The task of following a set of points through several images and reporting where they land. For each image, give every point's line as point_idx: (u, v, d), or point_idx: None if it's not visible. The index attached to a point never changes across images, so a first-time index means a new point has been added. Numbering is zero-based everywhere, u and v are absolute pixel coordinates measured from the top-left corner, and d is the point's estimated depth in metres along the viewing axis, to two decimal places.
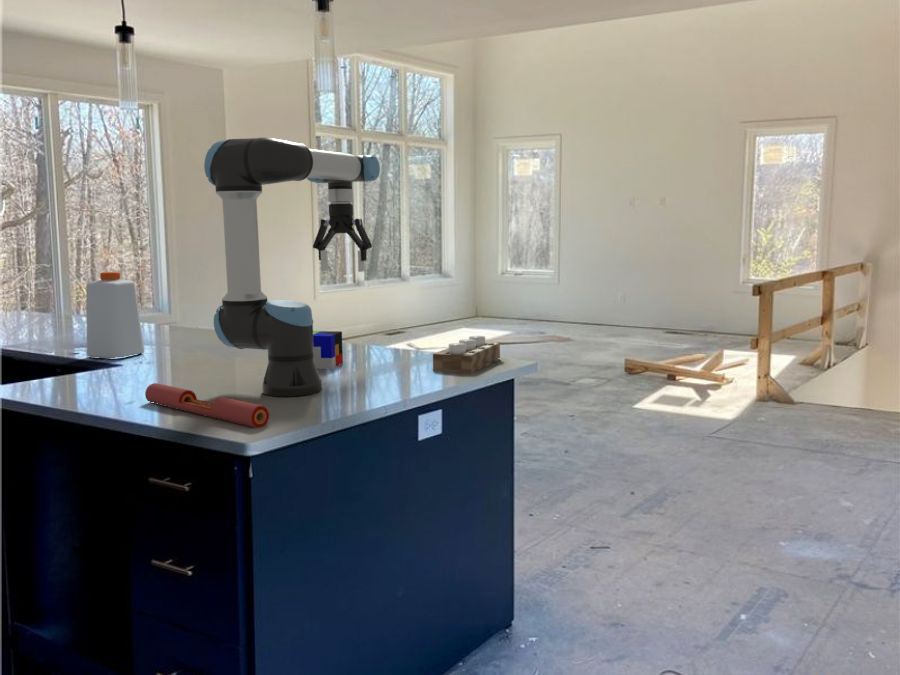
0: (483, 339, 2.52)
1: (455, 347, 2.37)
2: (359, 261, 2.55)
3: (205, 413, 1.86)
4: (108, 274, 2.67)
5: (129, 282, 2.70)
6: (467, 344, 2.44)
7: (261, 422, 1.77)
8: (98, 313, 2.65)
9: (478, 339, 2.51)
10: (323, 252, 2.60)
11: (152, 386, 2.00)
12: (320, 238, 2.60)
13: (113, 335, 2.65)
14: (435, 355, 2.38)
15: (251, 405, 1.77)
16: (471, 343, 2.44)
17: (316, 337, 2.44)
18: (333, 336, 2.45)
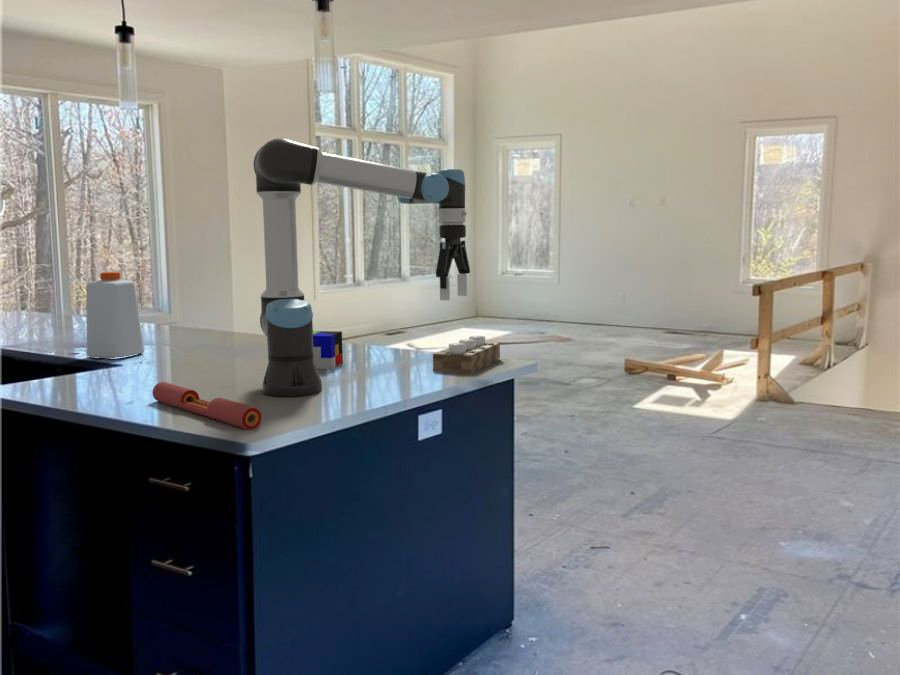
0: (483, 339, 2.52)
1: (455, 347, 2.37)
2: (440, 288, 2.31)
3: (203, 413, 1.85)
4: (108, 274, 2.67)
5: (129, 282, 2.70)
6: (467, 344, 2.44)
7: (253, 424, 1.75)
8: (98, 313, 2.65)
9: (478, 339, 2.51)
10: (459, 275, 2.43)
11: (159, 385, 2.02)
12: None
13: (113, 335, 2.65)
14: (435, 355, 2.38)
15: (243, 406, 1.75)
16: (471, 343, 2.44)
17: (316, 337, 2.44)
18: (333, 336, 2.45)
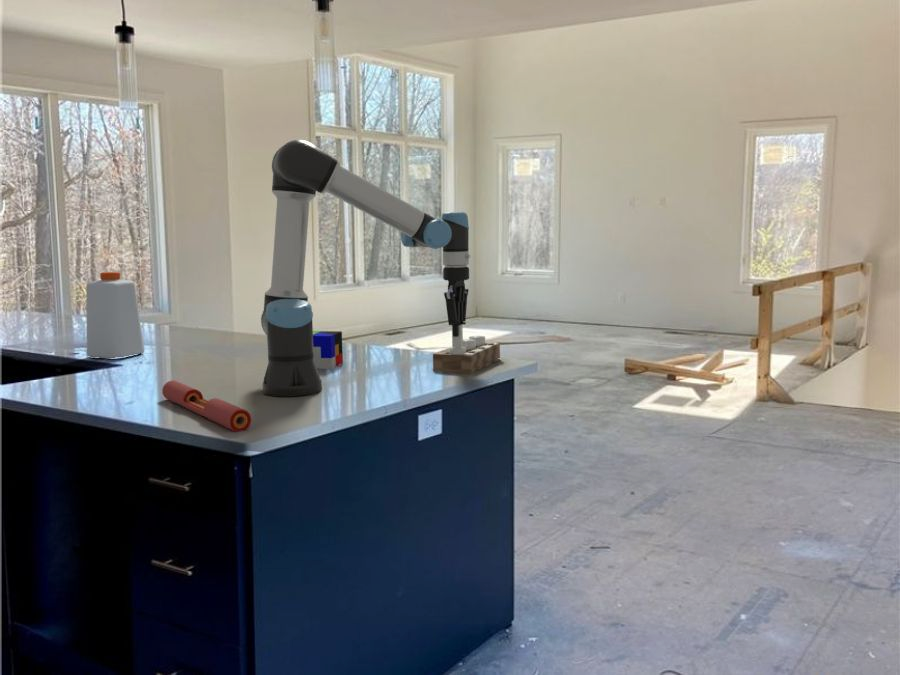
0: (483, 339, 2.52)
1: (455, 351, 2.37)
2: (452, 336, 2.39)
3: (200, 413, 1.85)
4: (108, 274, 2.67)
5: (129, 282, 2.70)
6: (467, 344, 2.44)
7: (241, 426, 1.73)
8: (98, 313, 2.65)
9: (478, 339, 2.51)
10: None
11: (168, 383, 2.03)
12: None
13: (113, 335, 2.65)
14: (435, 355, 2.38)
15: (233, 408, 1.74)
16: (471, 343, 2.44)
17: (316, 337, 2.44)
18: (333, 336, 2.45)
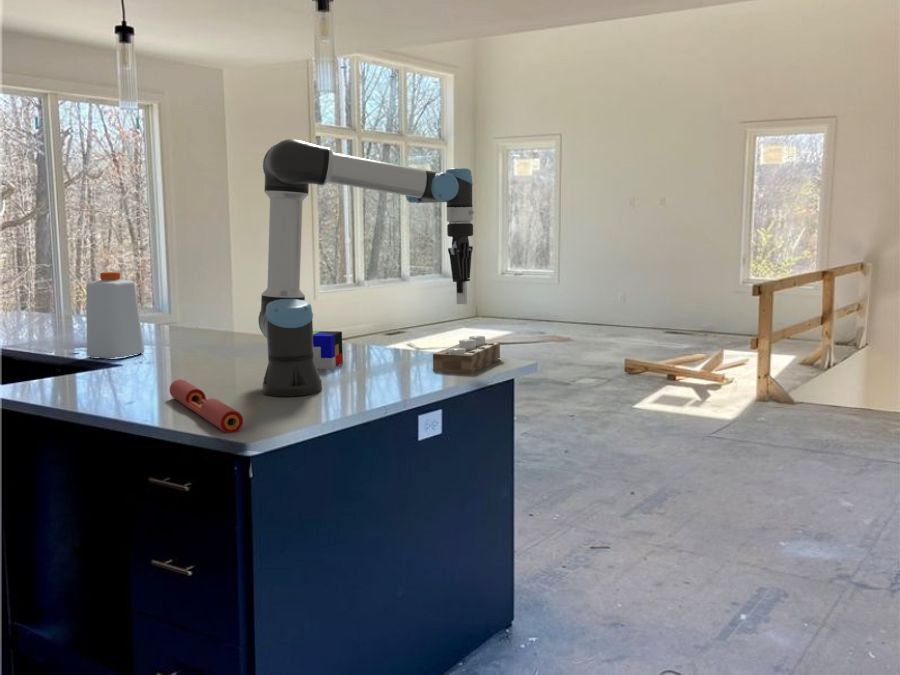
0: (483, 339, 2.52)
1: (455, 352, 2.37)
2: (457, 293, 2.40)
3: (198, 413, 1.85)
4: (108, 274, 2.67)
5: (129, 282, 2.70)
6: (467, 344, 2.44)
7: (233, 427, 1.72)
8: (98, 313, 2.65)
9: (478, 339, 2.51)
10: None
11: (175, 382, 2.05)
12: None
13: (113, 335, 2.65)
14: (435, 355, 2.38)
15: (225, 409, 1.73)
16: (471, 343, 2.44)
17: (316, 337, 2.44)
18: (333, 336, 2.45)
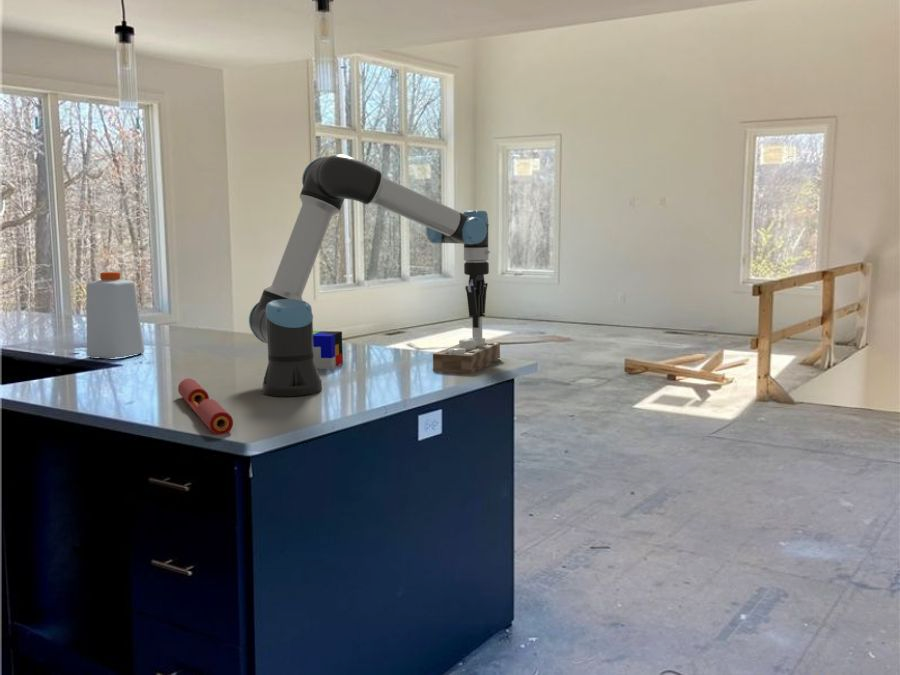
0: (483, 341, 2.52)
1: (455, 352, 2.37)
2: None
3: (196, 413, 1.85)
4: (108, 274, 2.67)
5: (129, 282, 2.70)
6: (467, 344, 2.44)
7: (222, 429, 1.71)
8: (98, 313, 2.65)
9: (478, 341, 2.51)
10: None
11: (183, 381, 2.06)
12: None
13: (113, 335, 2.65)
14: (435, 355, 2.38)
15: (215, 410, 1.72)
16: (471, 343, 2.44)
17: (316, 337, 2.44)
18: (333, 336, 2.45)
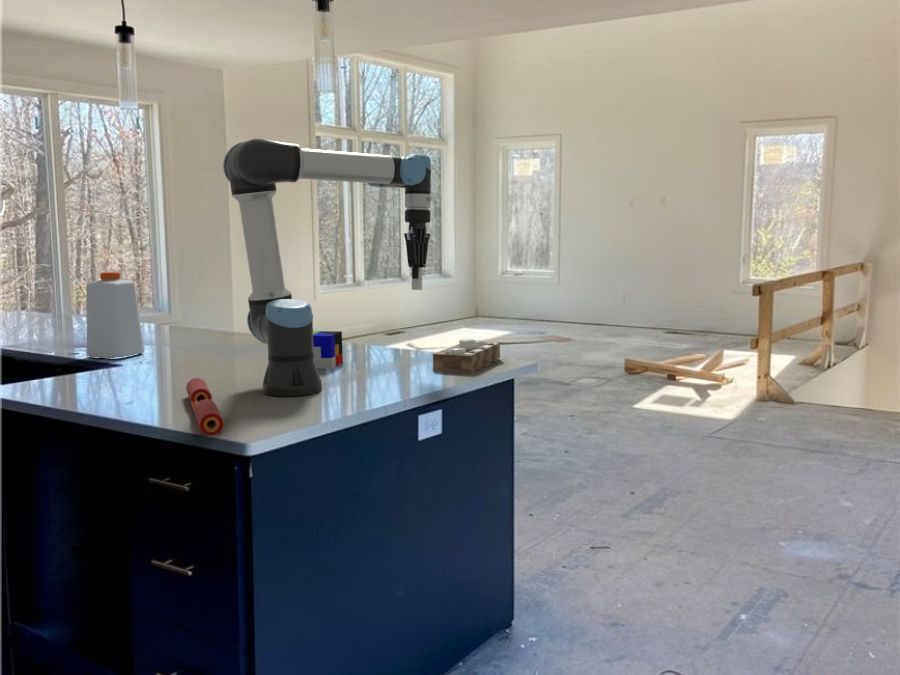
0: (483, 344, 2.52)
1: (455, 352, 2.37)
2: (412, 278, 2.42)
3: None
4: (108, 274, 2.67)
5: (129, 282, 2.70)
6: (467, 344, 2.44)
7: (213, 430, 1.70)
8: (98, 313, 2.65)
9: (478, 344, 2.51)
10: None
11: (191, 381, 2.07)
12: None
13: (113, 335, 2.65)
14: (435, 355, 2.38)
15: (206, 411, 1.71)
16: (471, 343, 2.44)
17: (316, 337, 2.44)
18: (333, 336, 2.45)
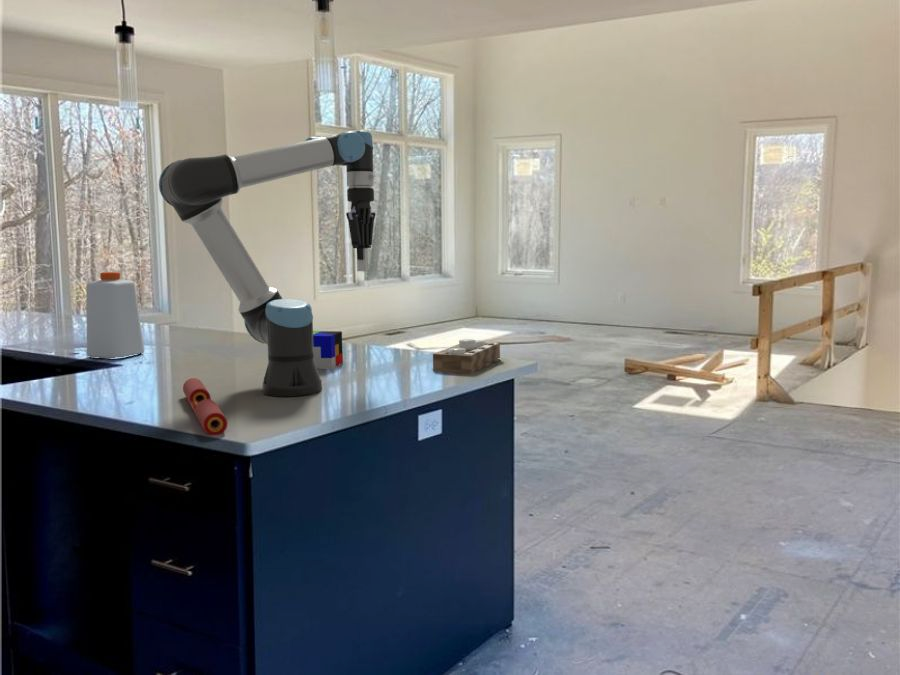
0: (483, 344, 2.52)
1: (455, 352, 2.37)
2: None
3: None
4: (108, 274, 2.67)
5: (129, 282, 2.70)
6: (467, 344, 2.44)
7: (216, 430, 1.71)
8: (98, 313, 2.65)
9: (478, 344, 2.51)
10: None
11: (187, 381, 2.06)
12: None
13: (113, 335, 2.65)
14: (435, 355, 2.38)
15: (210, 411, 1.72)
16: (471, 343, 2.44)
17: (316, 337, 2.44)
18: (333, 336, 2.45)
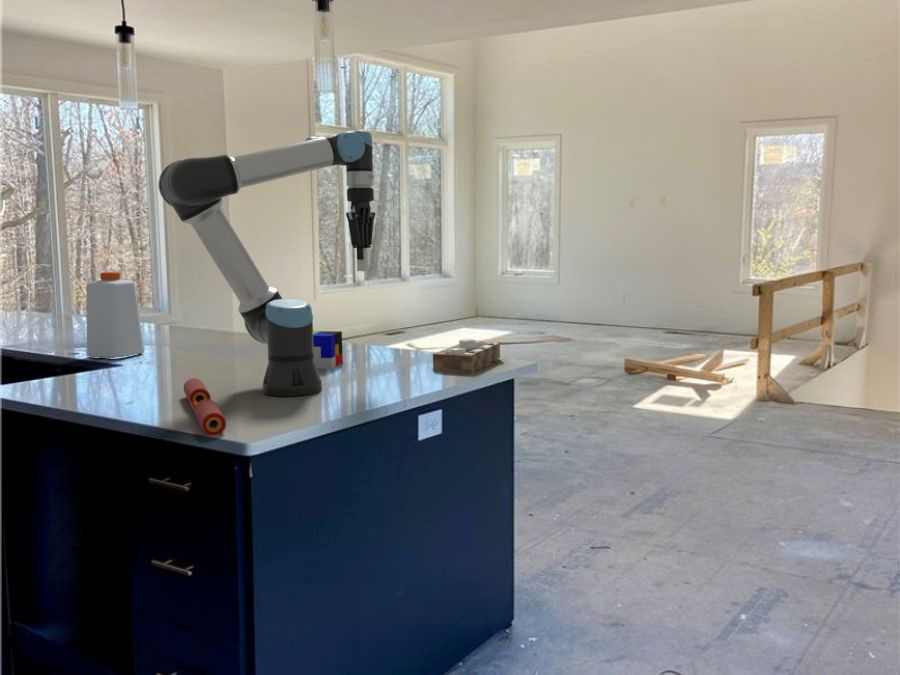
0: (483, 344, 2.52)
1: (455, 352, 2.37)
2: None
3: None
4: (108, 274, 2.67)
5: (129, 282, 2.70)
6: (467, 344, 2.44)
7: (215, 430, 1.71)
8: (98, 313, 2.65)
9: (478, 344, 2.51)
10: None
11: (188, 381, 2.06)
12: None
13: (113, 335, 2.65)
14: (435, 355, 2.38)
15: (208, 411, 1.72)
16: (471, 343, 2.44)
17: (316, 337, 2.44)
18: (333, 336, 2.45)
